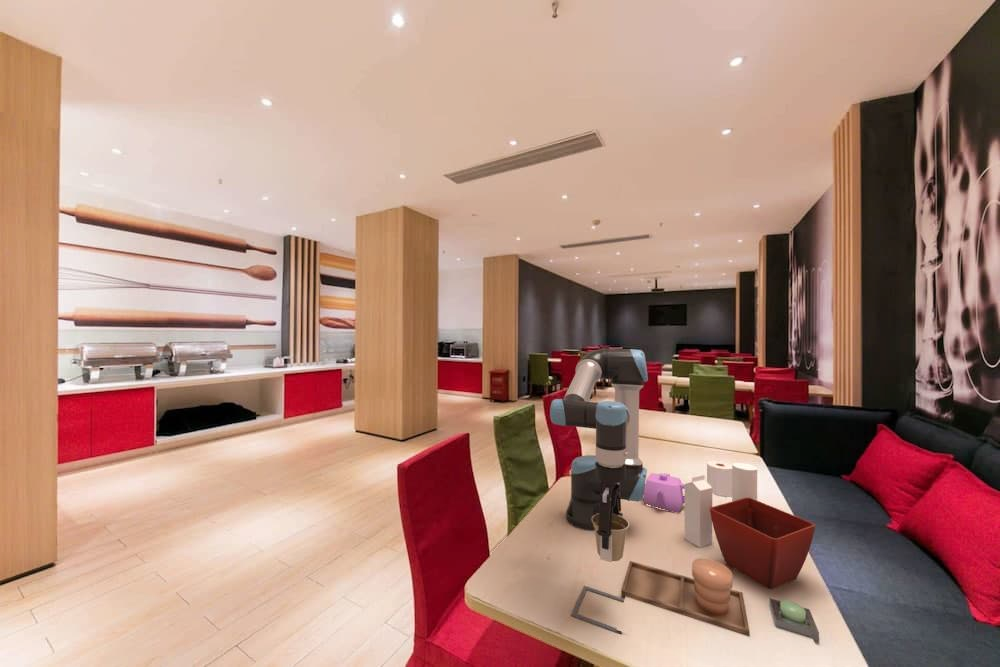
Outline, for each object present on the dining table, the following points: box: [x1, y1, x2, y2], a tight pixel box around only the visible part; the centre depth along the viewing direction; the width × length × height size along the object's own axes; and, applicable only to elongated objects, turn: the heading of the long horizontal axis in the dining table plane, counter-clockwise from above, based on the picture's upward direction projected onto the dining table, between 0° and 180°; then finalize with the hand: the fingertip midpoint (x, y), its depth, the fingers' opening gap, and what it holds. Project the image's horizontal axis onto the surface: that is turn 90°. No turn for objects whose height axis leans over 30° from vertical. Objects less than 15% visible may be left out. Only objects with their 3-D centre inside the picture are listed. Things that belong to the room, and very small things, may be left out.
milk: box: [683, 474, 713, 548], centre depth 125 cm, size 6×6×22 cm
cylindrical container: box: [731, 462, 758, 502], centre depth 126 cm, size 7×7×25 cm
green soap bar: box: [779, 599, 807, 625], centre depth 89 cm, size 5×5×3 cm
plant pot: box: [710, 498, 816, 590], centre depth 109 cm, size 19×19×17 cm
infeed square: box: [570, 585, 626, 635], centre depth 94 cm, size 12×12×1 cm
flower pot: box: [591, 513, 630, 562], centre depth 95 cm, size 9×9×9 cm
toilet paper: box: [706, 460, 732, 497], centre depth 165 cm, size 10×10×12 cm
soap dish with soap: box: [769, 597, 820, 644], centre depth 89 cm, size 8×8×2 cm
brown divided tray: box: [620, 560, 751, 637], centre depth 98 cm, size 28×15×2 cm, turn 62°
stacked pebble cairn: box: [691, 558, 734, 615], centre depth 94 cm, size 9×9×9 cm
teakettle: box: [643, 472, 686, 513], centre depth 152 cm, size 17×17×12 cm
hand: (610, 550), depth 95 cm, fingers closed on flower pot, 8 cm apart
